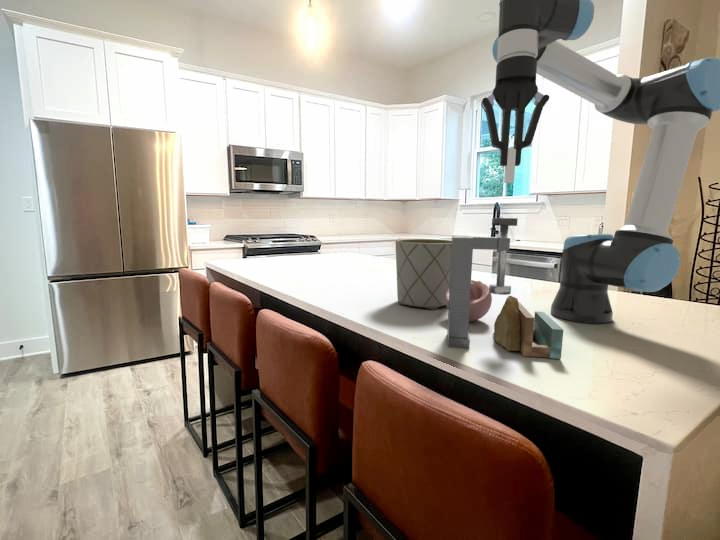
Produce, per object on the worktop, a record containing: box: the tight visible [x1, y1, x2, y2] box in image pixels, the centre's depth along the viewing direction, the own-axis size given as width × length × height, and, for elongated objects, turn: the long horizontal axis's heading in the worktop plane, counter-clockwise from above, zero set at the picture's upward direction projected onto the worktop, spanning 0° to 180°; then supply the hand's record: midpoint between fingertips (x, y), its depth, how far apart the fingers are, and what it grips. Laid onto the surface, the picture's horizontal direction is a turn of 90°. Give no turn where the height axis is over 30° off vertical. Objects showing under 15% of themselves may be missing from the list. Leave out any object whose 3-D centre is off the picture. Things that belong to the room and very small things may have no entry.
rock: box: [492, 295, 521, 352], centre depth 83 cm, size 11×9×10 cm
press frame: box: [446, 235, 511, 349], centre depth 84 cm, size 12×9×24 cm
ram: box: [488, 217, 518, 296], centre depth 82 cm, size 5×5×16 cm
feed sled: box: [518, 301, 564, 360], centre depth 82 cm, size 7×14×8 cm, turn 169°
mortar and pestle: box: [445, 279, 493, 322], centre depth 102 cm, size 12×12×11 cm
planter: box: [395, 238, 452, 311], centre depth 120 cm, size 19×19×20 cm
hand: (508, 182), depth 79 cm, fingers closed
